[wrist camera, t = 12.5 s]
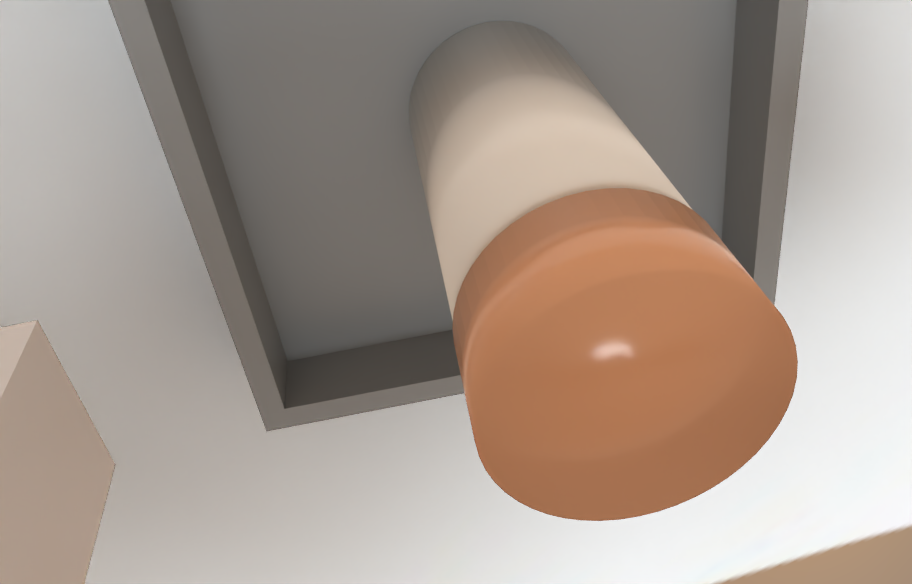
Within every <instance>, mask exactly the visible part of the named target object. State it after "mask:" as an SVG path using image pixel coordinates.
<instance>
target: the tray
mask: <svg viewBox="0 0 912 584" xmlns="http://www.w3.org/2000/svg"><path fill="white" fill-rule="evenodd" d="M108 1H109V4H110V6H111V9H112V12H113V15H114V17H115V20H116V23H117V25H118V28H119V31H120V34H121V36H122V39H123V42H124V44H125V47H126V50H127V53H128V55H129V58H130V61H131V64H132V66H133V69H134V72H135V74H136V77H137V80H138V83H139V85H140V88H141V91H142V93H143V96H144V99H145V102H146V104H147V107H148V110H149V112H150V115H151V118H152V121H153V123H154V126H155V129H156V132H157V134H158V137H159V140H160V142H161V145H162V148H163V151H164V153H165V156H166V159H167V161H168V164H169V167H170V170H171V172H172V175H173V178H174V180H175V183H176V186H177V189H178V191H179V194H180V197H181V200H182V202H183V205H184V208H185V210H186V213H187V216H188V219H189V221H190V224H191V227H192V229H193V232H194V235H195V238H196V240H197V243H198V246H199V248H200V251H201V254H202V257H203V259H204V262H205V265H206V268H207V270H208V273H209V276H210V278H211V281H212V284H213V287H214V289H215V292H216V295H217V297H218V300H219V303H220V306H221V308H222V311H223V314H224V316H225V319H226V322H227V325H228V327H229V330H230V333H231V336H232V338H233V341H234V344H235V346H236V349H237V352H238V355H239V357H240V360H241V363H242V365H243V368H244V371H245V374H246V376H247V379H248V382H249V384H250V387H251V390H252V393H253V395H254V398H255V401H256V404H257V406H258V409H259V412H260V414H261V417H262V420H263V423H264V425H265V428H266V431H271V430H276V429H281V428H286V427H291V426H297V425H302V424H307V423H312V422H317V421H322V420H328V419H333V418H338V417H343V416H348V415H353V414H359V413H364V412H369V411H374V410H379V409H384V408H390V407H395V406H400V405H405V404H410V403H415V402H421V401H426V400H431V399H436V398H441V397H446V396H452V395H457V394H462V393H464V388H463V383H462V379H461V374H460V369H459V365H458V360H457V355H456V351H455V346H454V339H453V329H452V327H453V320H452V316H451V311H450V307H449V302H448V298H447V293H446V289H445V284H444V279H443V275H442V270H441V266H440V261H439V257H438V252H437V248H436V243H435V238H434V234H433V229H432V225H431V220H430V216H429V211H428V207H427V202H426V197H425V193H424V188H423V184H422V179H421V175H420V170H419V166H418V161H417V156H416V152H415V147H414V143H413V138H412V134H411V129H410V122H409V102H410V96H411V91H412V88H413V85H414V82H415V79H416V77H417V75H418V73H419V71H420V69H421V68H422V66H423V64H424V63H425V61H426V60H427V59H428V57H429V56H430V55H431V54H432V53H433V51H434V50H436V49H437V48H438V47H439V46H440V45H441V44H442V43H443V42H444V41H446V40H447V39H449V38H450V37H451V36H453V35H455V34H456V33H458V32H460V31H462V30H464V29H466V28H469V27H472V26H474V25H478V24H482V23H486V22H494V21H513V22H519V23H524V24H527V25H530V26H534V27H536V28H538V29H540V30H542V31H544V32H546V33H547V34H549V35H550V36H552V37H553V38H554V39H556V40H557V41H558V42H559V43H560V44H561V45H562V46H563V47H564V48H565V50H566V51H567V52H568V53H569V54H570V56H571V57H572V58H573V60H574V61H575V62H576V63H577V65H578V66H579V67H580V68H581V70H582V71H583V72H584V73H585V75H586V76H587V77H588V78H589V80H590V81H591V82H592V83H593V85H594V86H595V87H596V89H597V90H598V91H599V92H600V94H601V95H602V96H603V97H604V99H605V100H606V101H607V102H608V104H609V105H610V106H611V107H612V109H613V110H614V111H615V112H616V114H617V115H618V116H619V118H620V119H621V120H622V121H623V123H624V124H625V125H626V126H627V128H628V129H629V130H630V131H631V133H632V134H633V135H634V136H635V138H636V139H637V140H638V141H639V143H640V144H641V145H642V147H643V148H644V149H645V150H646V152H647V153H648V154H649V155H650V157H651V158H652V159H653V160H654V162H655V163H656V164H657V165H658V167H659V168H660V169H661V171H662V172H663V173H664V174H665V176H666V177H667V178H668V179H669V181H670V182H671V183H672V184H673V186H674V187H675V188H676V189H677V191H678V192H679V193H680V194H681V196H682V197H683V198H684V200H685V201H686V202H687V203H688V205H689V206H690V207H691V208H692V210H694V211H695V212H696V213H697V214H698V215H700V216H701V217H702V218H703V219H704V220H705V221H706V222H707V223H708V224H709V225H710V227H711V228H712V229H713V230H714V231H715V233H716V234H717V235H718V236H719V238H720V239H721V240H722V241H723V242H724V244H725V245H726V246H727V247H728V249H729V250H730V251H731V252H732V254H733V255H734V256H735V257H736V259H737V260H738V261H739V262H740V264H741V265H742V266H743V267H744V269H745V270H746V271H747V272H748V274H749V275H750V276H751V277H752V279H753V280H754V281H755V282H756V284H757V285H758V286H759V287H760V289H761V290H762V291H763V292H764V294H765V295H766V296H767V297H768V299H769V300H770V301H771V302H772V304H773V305H774V302H775V293H776V284H777V276H778V267H779V258H780V249H781V240H782V231H783V222H784V213H785V204H786V195H787V186H788V177H789V168H790V159H791V150H792V141H793V132H794V124H795V115H796V106H797V97H798V88H799V79H800V70H801V61H802V52H803V43H804V34H805V25H806V16H807V7H808V0H108Z"/></svg>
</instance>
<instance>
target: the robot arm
mask: <svg viewBox="0 0 912 584" xmlns="http://www.w3.org/2000/svg"><path fill="white" fill-rule="evenodd" d="M114 468H115V463H114V461H113V460H112V458H111V456H110V454H109V452H108V450H107V448H106V447H105V445H104V443H103V441H102V439H101V437H100V435H99V434H98V432H97V430H96V428H95V426H94V424H93V422H92V421H91V419H90V417H89V415H88V413H87V411H86V409H85V408H84V406H83V404H82V402H81V400H80V398H79V396H78V395H77V393H76V391H75V389H74V387H73V385H72V383H71V382H70V380H69V378H68V376H67V374H66V372H65V370H64V369H63V367H62V365H61V363H60V361H59V359H58V358H57V356H56V354H55V352H54V350H53V348H52V346H51V345H50V343H49V341H48V339H47V337H46V335H45V333H44V332H43V330H42V328H41V326H40V324H39V322H38V320H35V321H30V322H25V323H20V324H15V325H10V326H5V327H0V584H84V583H85V579H86V575H87V571H88V568H89V564H90V560H91V556H92V552H93V549H94V545H95V541H96V537H97V533H98V529H99V526H100V522H101V518H102V514H103V510H104V506H105V503H106V499H107V495H108V491H109V487H110V483H111V480H112V476H113V472H114Z"/></svg>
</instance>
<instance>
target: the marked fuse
mask: <svg viewBox="0 0 912 584" xmlns="http://www.w3.org/2000/svg"><path fill="white" fill-rule="evenodd" d="M409 122H410V129H411V134H412V138H413V143H414V147H415V152H416V156H417V161H418V166H419V170H420V175H421V179H422V184H423V188H424V193H425V197H426V202H427V207H428V211H429V216H430V220H431V225H432V229H433V234H434V238H435V243H436V248H437V252H438V257H439V261H440V266H441V270H442V275H443V279H444V284H445V289H446V293H447V298H448V302H449V307H450V311H451V316H452V320H453V327H452V329H453V339H454V346H455V351H456V355H457V360H458V365H459V369H460V374H461V379H462V383H463V388H464V393H465V397H466V402H467V407H468V411H469V416H470V421H471V425H472V430H473V435H474V440H475V444H476V447H477V451H478V454H479V457H480V459H481V461H482V463H483V465H484V468H485V470H486V471H487V472H488V474H489V475H490V476H491V478H492V479H493V481H494V482H495V483H496V484H497V485H498V486H499V487H500V488H501V489H502V490H503V491H504V492H505V493H507V494H508V495H510V496H511V497H513V498H514V499H515V500H517V501H518V502H520V503H522V504H524V505H526V506H528V507H530V508H532V509H535V510H537V511H540V512H543V513H546V514H549V515H553V516H558V517H562V518H568V519H576V520H593V521H603V520H617V519H625V518H631V517H637V516H642V515H646V514H650V513H654V512H658V511H661V510H664V509H667V508H670V507H673V506H676V505H678V504H680V503H683V502H685V501H687V500H690V499H692V498H694V497H696V496H698V495H700V494H702V493H704V492H705V491H707V490H709V489H711V488H713V487H714V486H716V485H717V484H719V483H720V482H722V481H723V480H725V479H727V478H728V477H729V476H731V475H732V474H733V473H734V472H736V471H737V470H738V469H740V468H741V467H742V466H743V465H744V464H745V463H747V462H748V461H749V460H750V459H751V458H752V457H753V456H754V455H755V454H756V453H757V452H758V451H759V450H760V449H761V447H762V446H763V445H764V444H765V443H766V442H767V441H768V439H769V438H770V437H771V435H772V434H773V432H774V431H775V430H776V428H777V427H778V425H779V424H780V422H781V420H782V418H783V416H784V414H785V412H786V411H787V408H788V406H789V403H790V401H791V398H792V395H793V392H794V387H795V383H796V378H797V363H798V361H797V353H796V345H795V342H794V339H793V336H792V333H791V330H790V328H789V327H788V325H787V323H786V321H785V319H784V317H783V316H782V315H781V313H780V312H779V311H778V310H777V309H776V307H775V306H774V305H773V304H772V302H771V301H770V300H769V299H768V297H767V296H766V295H765V294H764V292H763V291H762V290H761V289H760V287H759V286H758V285H757V284H756V282H755V281H754V280H753V279H752V277H751V276H750V275H749V274H748V272H747V271H746V270H745V269H744V267H743V266H742V265H741V264H740V262H739V261H738V260H737V259H736V257H735V256H734V255H733V254H732V252H731V251H730V250H729V249H728V247H727V246H726V245H725V244H724V242H723V241H722V240H721V239H720V238H719V236H718V235H717V234H716V233H715V231H714V230H713V229H712V228H711V227H710V225H709V224H708V223H707V222H706V221H705V220H704V219H703V218H702V217H701V216H700V215H698V214H697V213H696V212H695V211H694V210H692V208H691V207H690V206H689V205H688V203H687V202H686V201H685V200H684V198H683V197H682V196H681V194H680V193H679V192H678V191H677V189H676V188H675V187H674V186H673V184H672V183H671V182H670V181H669V179H668V178H667V177H666V176H665V174H664V173H663V172H662V171H661V169H660V168H659V167H658V165H657V164H656V163H655V162H654V160H653V159H652V158H651V157H650V155H649V154H648V153H647V152H646V150H645V149H644V148H643V147H642V145H641V144H640V143H639V141H638V140H637V139H636V138H635V136H634V135H633V134H632V133H631V131H630V130H629V129H628V128H627V126H626V125H625V124H624V123H623V121H622V120H621V119H620V118H619V116H618V115H617V114H616V112H615V111H614V110H613V109H612V107H611V106H610V105H609V104H608V102H607V101H606V100H605V99H604V97H603V96H602V95H601V94H600V92H599V91H598V90H597V89H596V87H595V86H594V85H593V83H592V82H591V81H590V80H589V78H588V77H587V76H586V75H585V73H584V72H583V71H582V70H581V68H580V67H579V66H578V65H577V63H576V62H575V61H574V60H573V58H572V57H571V56H570V54H569V53H568V52H567V51H566V50H565V48H564V47H563V46H562V45H561V44H560V43H559V42H558V41H557V40H556V39H554V38H553V37H552V36H550V35H549V34H547V33H546V32H544V31H542V30H540V29H538V28H536V27H534V26H530V25H527V24H524V23H519V22H513V21H494V22H486V23H482V24H478V25H474V26H472V27H469V28H466V29H464V30H462V31H460V32H458V33H456V34H455V35H453V36H451V37H450V38H449V39H447V40H446V41H444V42H443V43H442V44H441V45H440V46H439V47H438V48H437V49H436V50H434V51H433V53H432V54H431V55H430V56H429V57H428V59H427V60H426V61H425V63H424V64H423V66H422V68H421V69H420V71H419V73H418V75H417V77H416V79H415V82H414V85H413V88H412V91H411V96H410V102H409Z"/></svg>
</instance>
